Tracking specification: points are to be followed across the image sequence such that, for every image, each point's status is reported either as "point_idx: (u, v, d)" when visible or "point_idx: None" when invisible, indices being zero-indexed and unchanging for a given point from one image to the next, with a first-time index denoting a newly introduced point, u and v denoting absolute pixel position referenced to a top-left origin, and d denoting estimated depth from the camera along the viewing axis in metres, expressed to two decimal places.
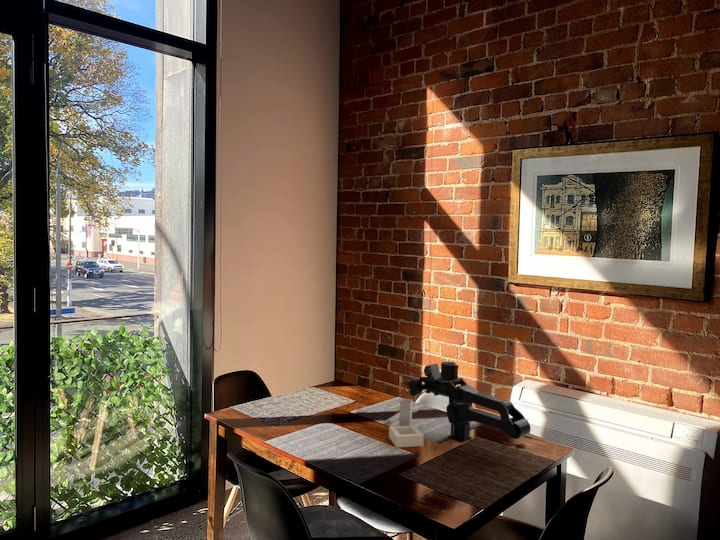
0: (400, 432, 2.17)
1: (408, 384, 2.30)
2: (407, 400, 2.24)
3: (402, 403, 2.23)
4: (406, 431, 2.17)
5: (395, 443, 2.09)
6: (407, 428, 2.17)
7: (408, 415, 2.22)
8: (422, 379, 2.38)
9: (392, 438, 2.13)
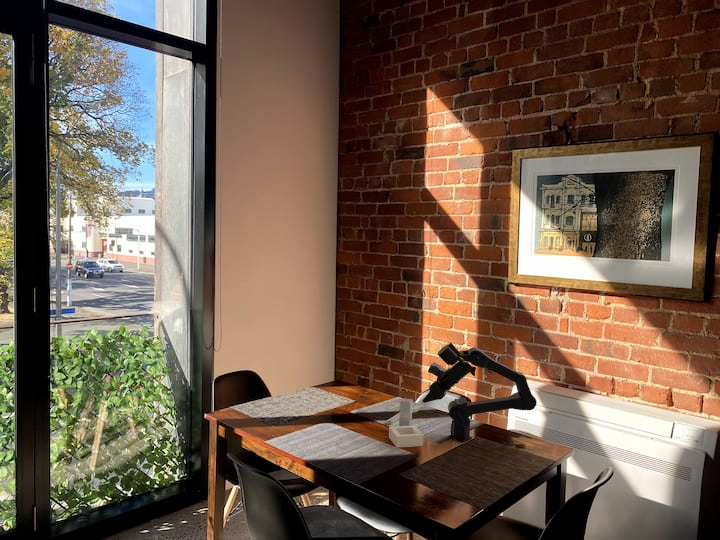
0: (400, 432, 2.17)
1: (429, 397, 2.16)
2: (407, 400, 2.24)
3: (402, 403, 2.23)
4: (406, 431, 2.17)
5: (395, 443, 2.09)
6: (407, 428, 2.17)
7: (408, 415, 2.22)
8: None
9: (392, 438, 2.13)
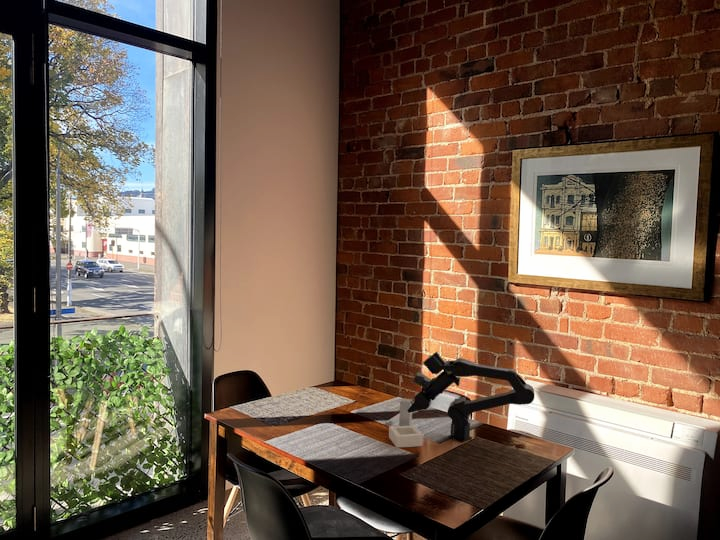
0: (400, 432, 2.17)
1: (414, 407, 2.17)
2: (407, 400, 2.24)
3: (402, 403, 2.23)
4: (406, 431, 2.17)
5: (395, 443, 2.09)
6: (407, 428, 2.17)
7: (408, 415, 2.22)
8: None
9: (392, 438, 2.13)
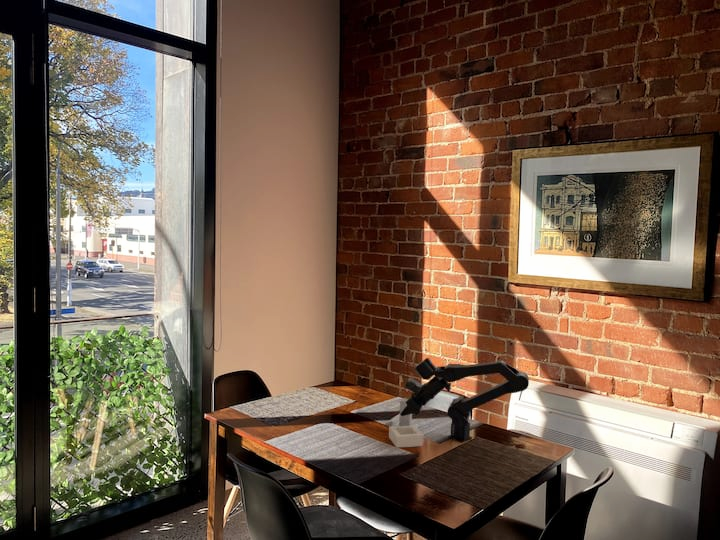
0: (400, 432, 2.17)
1: (406, 411, 2.21)
2: None
3: (402, 403, 2.23)
4: (406, 431, 2.17)
5: (395, 443, 2.09)
6: (407, 428, 2.17)
7: (408, 415, 2.22)
8: None
9: (392, 438, 2.13)
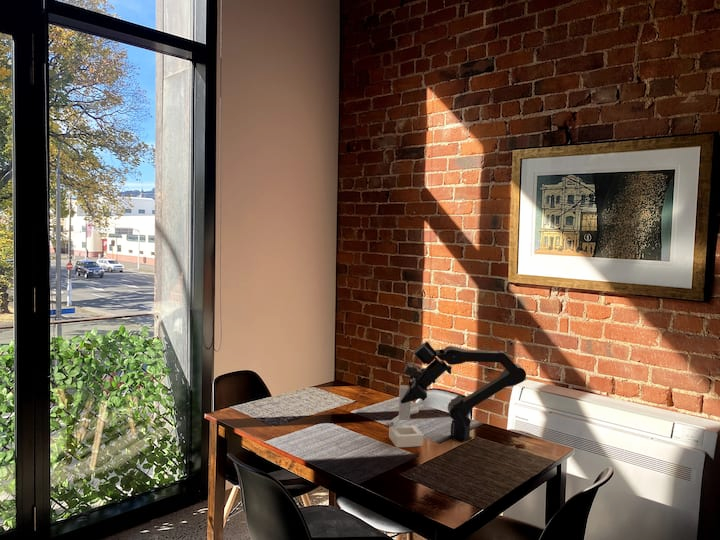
0: (400, 432, 2.17)
1: (408, 398, 2.15)
2: (406, 387, 2.18)
3: (402, 390, 2.16)
4: (406, 431, 2.17)
5: (395, 443, 2.09)
6: (407, 428, 2.17)
7: (409, 402, 2.16)
8: None
9: (392, 438, 2.13)
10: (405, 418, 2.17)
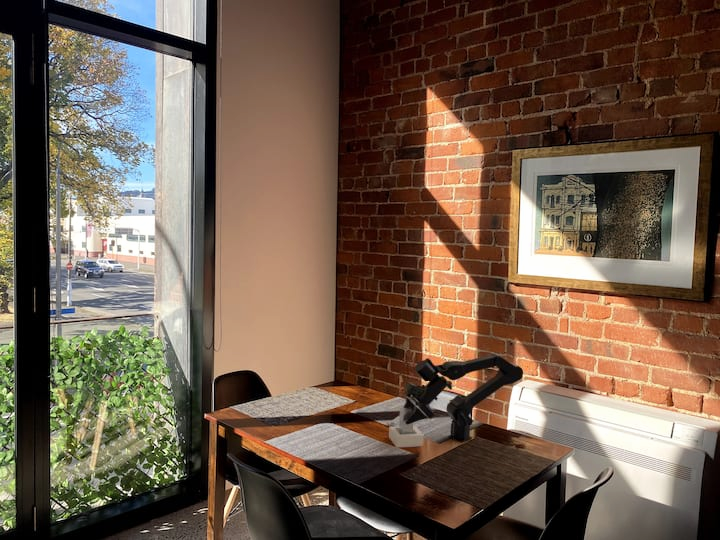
0: None
1: (413, 418, 2.09)
2: (408, 409, 2.13)
3: (405, 414, 2.11)
4: None
5: (395, 443, 2.09)
6: None
7: (411, 425, 2.12)
8: None
9: (392, 438, 2.13)
10: None
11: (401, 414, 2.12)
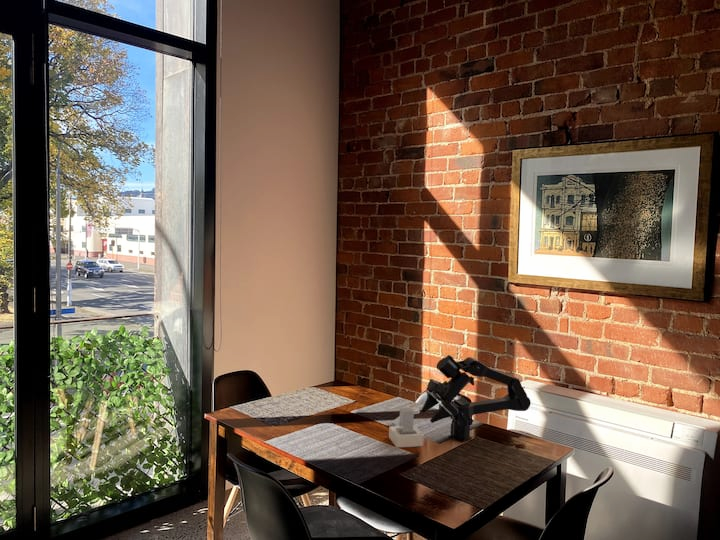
0: None
1: (438, 416, 2.11)
2: (408, 409, 2.13)
3: (405, 414, 2.11)
4: None
5: (395, 443, 2.09)
6: None
7: (411, 425, 2.12)
8: (425, 409, 2.20)
9: (392, 438, 2.13)
10: None
11: (401, 414, 2.12)
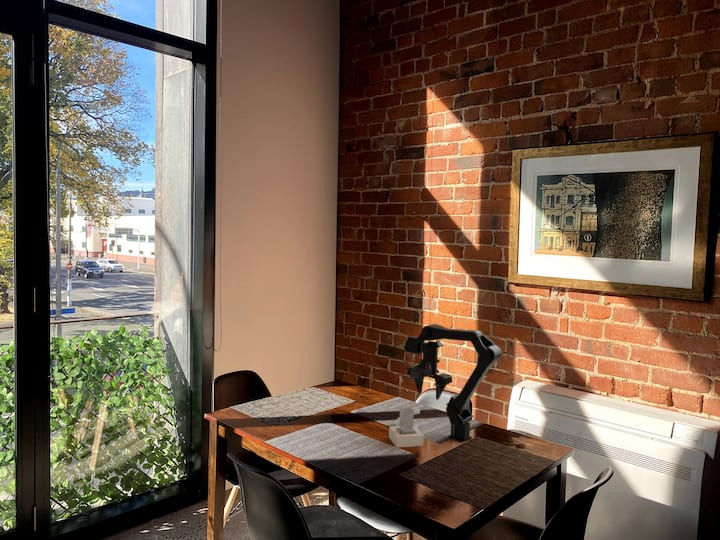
0: None
1: (440, 391, 2.22)
2: (408, 409, 2.13)
3: (405, 414, 2.11)
4: None
5: (395, 443, 2.09)
6: None
7: (411, 425, 2.12)
8: (420, 389, 2.30)
9: (392, 438, 2.13)
10: None
11: (401, 414, 2.12)
